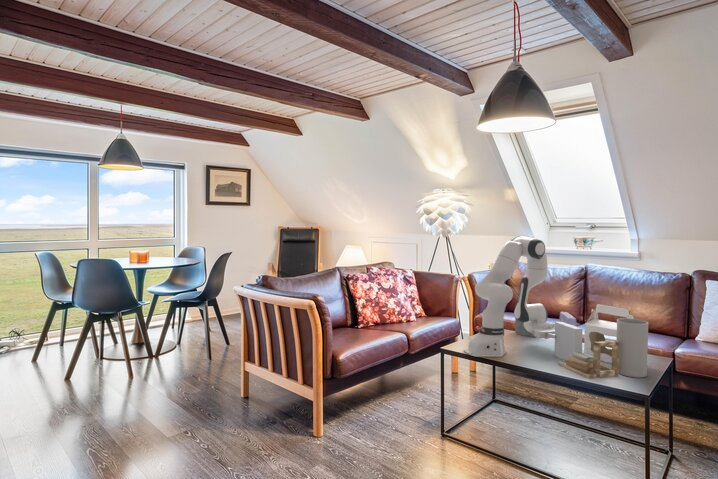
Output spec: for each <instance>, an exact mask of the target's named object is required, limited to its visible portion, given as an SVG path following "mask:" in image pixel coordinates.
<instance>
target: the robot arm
mask: <svg viewBox="0 0 718 479" xmlns="http://www.w3.org/2000/svg"><path fill="white" fill-rule="evenodd" d="M547 256H548V255H547V253H546V245H545V243H544V241H543V240H542V239H538V238H533V237H529V236H514V237H512V238H511V239H509V241H506V243H505V244H504V246H502V248H501V250H500V252H499V253H498V256H497V257H496V260H495V262H494V264H493V266H492V267H491V269H490V270H489V272H488V273H487V274H486V275H485V276H484V277H483V278H482V279H481V280H479V281H478V282H476V284H475V287H474V291H475V294H476V296H478V297H479V298H481V299H483V300H486V301H488V302H487V306H486V308H485V309H483V311H482V325H481V326H479V325H476V327H475V329H476V330H477V331H479V332H478V333H477V334H475V335H474V336H473V337H472V338H470V339H469V341H468V344H467V347H465V348H463V351H464V353H465V354H467V355H470V356H473V357H477V358H481V357H483V358H486V357H488V358H489V357H490V358H491V357H493V358H496V357H498V358H499V357H504V355H506V354H507V350H506V347H505V340H504V338H505V337H504V336H505V327H504V319H505V318H504V317H505V311H506V307H507V305H508V303H510V302H511V300H512V299H513V297H514V291H513V289H512V287H510V286H509V285H507V284H506V283H505V282H506V281H507V280H509V279H510V278H512V277H513V275H514V273H515V270H516V268H517V266H518V263H519V262H520V258H521V257H526V259H527V262H526V272H525V274H524V276H523V277H521V280H520V283H519V288H518V294H517V300H516V304H515V307H514V309H513V315H514V318H516V319H517V320H518V321H519V322H521V323H523V322H524V327H525V329H526V330H527V331H528V332H530V333H532V334H533V335H534V336H535V337H534V338H537V339H545V340H547V339H551V338H552V339H555V338H556V335H555V323H550V322H547V320H548V316H549V315H548V314H549V313H548V310H547V307H546V306H545V305H543V304H542V303H539V302H538V303H531V304H529V303H528V298H529V293H530V290H531V289H533V288H534V287H536V286H537V285H540V284H542V282H544V281H545V280H546V278H547V276H548V257H547Z"/></svg>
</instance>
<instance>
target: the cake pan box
mask: <svg viewBox="0 0 718 479" xmlns="http://www.w3.org/2000/svg"><path fill="white" fill-rule="evenodd" d="M558 322H564V323H567V324H570V325H573V326H576V327H577V318H575V317H574V316H573V315H572V314H570V313H569V312H568V311H559V321H558Z"/></svg>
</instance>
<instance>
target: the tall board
mask: <svg viewBox="0 0 718 479" xmlns="http://www.w3.org/2000/svg"><path fill="white" fill-rule="evenodd" d="M554 324H555V335H556V338H554V356H555V357H557V358H560V359H561V360H563V361H567V360H569V355H572V352H582V353H583V328H582V327H578V326H577V325H576V326H573V325H570V324H567V323H564V322H559V321H555V322H554Z"/></svg>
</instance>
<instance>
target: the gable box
mask: <svg viewBox="0 0 718 479" xmlns="http://www.w3.org/2000/svg"><path fill="white" fill-rule="evenodd" d="M599 314H606V315H611V316H617V317H622V318H629V319H635V315H633V314H631V310H629V309H628V307H619V306H614V305H608V304H601V303H598V304H596V306H595V308H591V312H590V315H589V316H588V318H587V319H586V321H585V322H584V333H583V335H584V336H583V337H584V338H583V339H584V340H583V341H584V343H583V348H584V349H583V353H585V354H587V355H590V356H592V357H593V355H594V342H601V341H606V337H605V336H607V337H615V338H617V322H613V321H608V320H602V319H599ZM601 361H602V362H604V363H605V362H606V363H610V364H612V348H608V347H606V346H601V353H600V362H601Z"/></svg>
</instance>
